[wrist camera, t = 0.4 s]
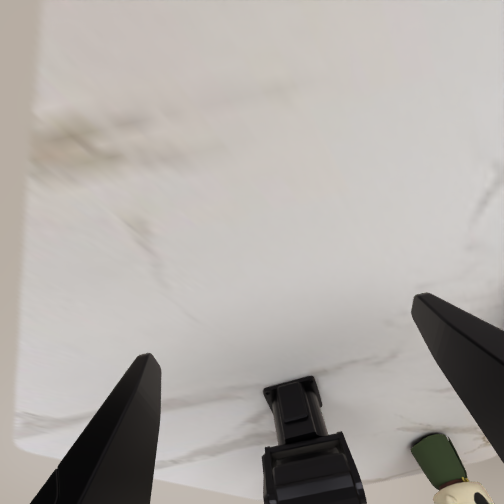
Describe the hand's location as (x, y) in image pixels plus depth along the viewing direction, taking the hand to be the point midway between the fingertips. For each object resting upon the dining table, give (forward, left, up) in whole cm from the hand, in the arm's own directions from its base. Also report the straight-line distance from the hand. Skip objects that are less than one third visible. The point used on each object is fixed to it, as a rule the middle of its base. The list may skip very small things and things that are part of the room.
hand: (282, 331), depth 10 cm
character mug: (-50, -16, -15) cm, 54 cm away
